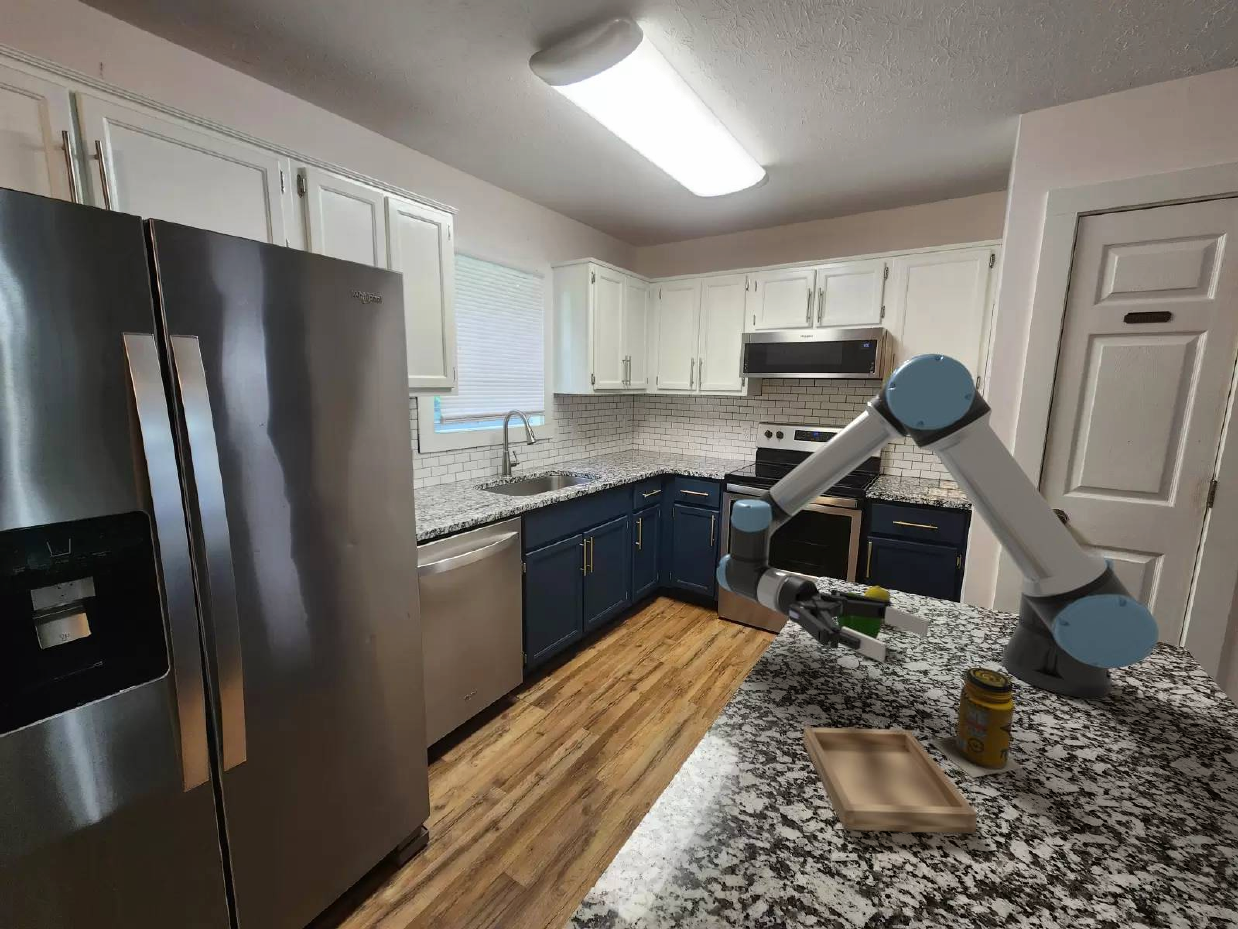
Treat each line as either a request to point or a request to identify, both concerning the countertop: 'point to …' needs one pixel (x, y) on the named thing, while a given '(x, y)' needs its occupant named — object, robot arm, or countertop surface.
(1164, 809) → the countertop surface
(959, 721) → the condiment
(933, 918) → the countertop surface
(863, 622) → the bell pepper
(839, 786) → the tray
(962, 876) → the countertop surface
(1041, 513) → the robot arm
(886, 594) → the lemon
